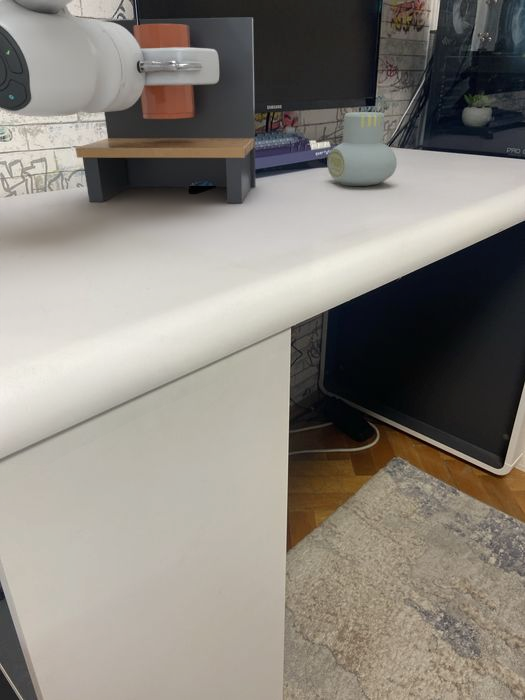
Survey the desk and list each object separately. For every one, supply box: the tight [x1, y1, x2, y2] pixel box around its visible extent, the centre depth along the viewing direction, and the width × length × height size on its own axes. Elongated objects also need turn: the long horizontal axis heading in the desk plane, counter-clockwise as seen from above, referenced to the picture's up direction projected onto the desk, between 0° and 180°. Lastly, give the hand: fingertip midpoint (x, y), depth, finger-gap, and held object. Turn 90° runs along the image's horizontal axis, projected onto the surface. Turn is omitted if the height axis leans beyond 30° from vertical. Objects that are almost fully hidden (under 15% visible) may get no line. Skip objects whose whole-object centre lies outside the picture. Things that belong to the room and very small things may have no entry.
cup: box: [133, 24, 195, 119], centre depth 69 cm, size 7×7×10 cm
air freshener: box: [326, 111, 398, 187], centre depth 81 cm, size 11×8×10 cm
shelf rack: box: [75, 16, 257, 204], centre depth 72 cm, size 22×13×22 cm, turn 85°
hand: (167, 68), depth 70 cm, fingers closed on cup, 7 cm apart
